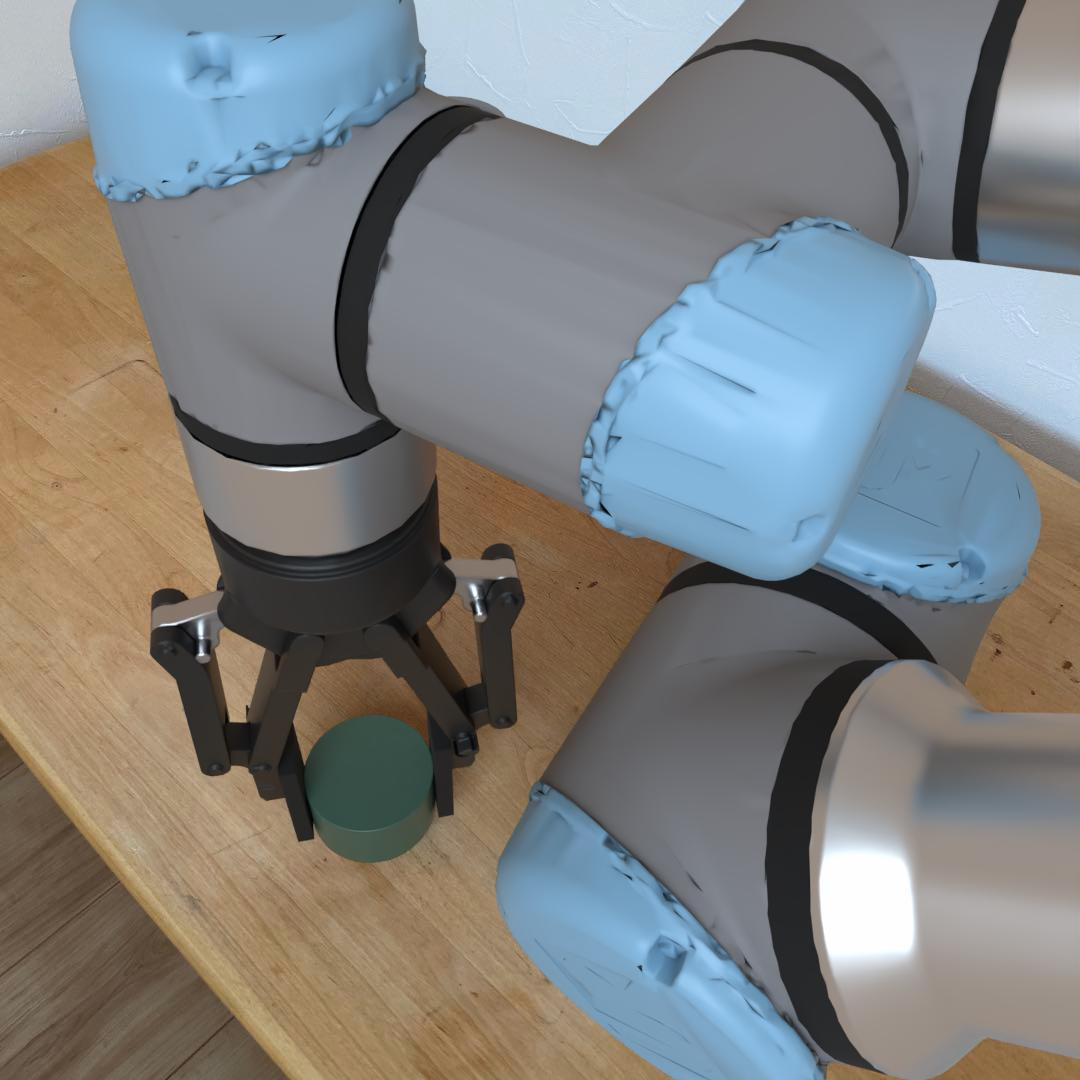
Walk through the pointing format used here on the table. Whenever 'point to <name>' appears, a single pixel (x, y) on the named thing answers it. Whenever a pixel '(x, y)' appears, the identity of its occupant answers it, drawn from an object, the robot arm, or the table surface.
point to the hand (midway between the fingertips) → (374, 802)
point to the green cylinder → (370, 788)
